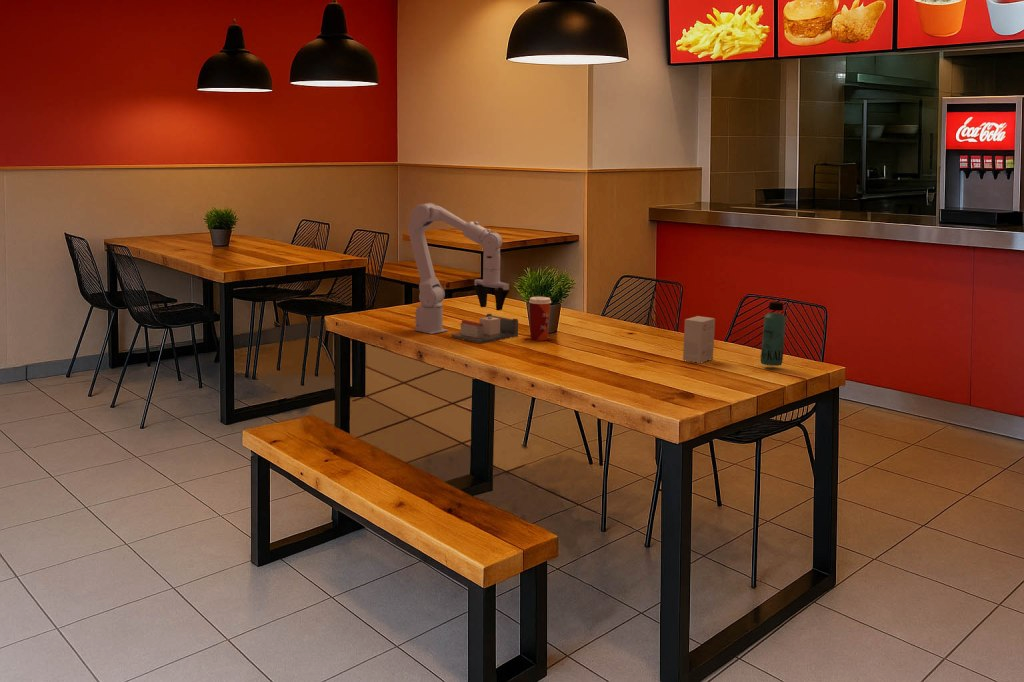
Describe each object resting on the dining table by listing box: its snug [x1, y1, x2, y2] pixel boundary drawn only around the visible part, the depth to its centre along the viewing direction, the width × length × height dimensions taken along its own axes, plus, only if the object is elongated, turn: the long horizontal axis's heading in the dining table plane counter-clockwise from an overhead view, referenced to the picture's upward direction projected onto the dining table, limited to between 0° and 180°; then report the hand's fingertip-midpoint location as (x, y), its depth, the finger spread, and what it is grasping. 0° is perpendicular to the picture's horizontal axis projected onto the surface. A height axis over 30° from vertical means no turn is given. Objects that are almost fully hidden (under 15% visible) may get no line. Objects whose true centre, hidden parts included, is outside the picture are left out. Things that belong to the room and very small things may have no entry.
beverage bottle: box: [759, 301, 787, 367], centre depth 273 cm, size 6×7×20 cm
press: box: [450, 313, 519, 344], centre depth 313 cm, size 14×18×6 cm
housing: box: [478, 316, 500, 335], centre depth 315 cm, size 5×5×6 cm
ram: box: [460, 319, 484, 338], centre depth 309 cm, size 9×3×5 cm, turn 47°
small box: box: [682, 315, 716, 364], centre depth 283 cm, size 8×6×13 cm
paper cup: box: [528, 296, 552, 342], centre depth 310 cm, size 8×8×14 cm
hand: (491, 308), depth 314 cm, fingers open, 7 cm apart
